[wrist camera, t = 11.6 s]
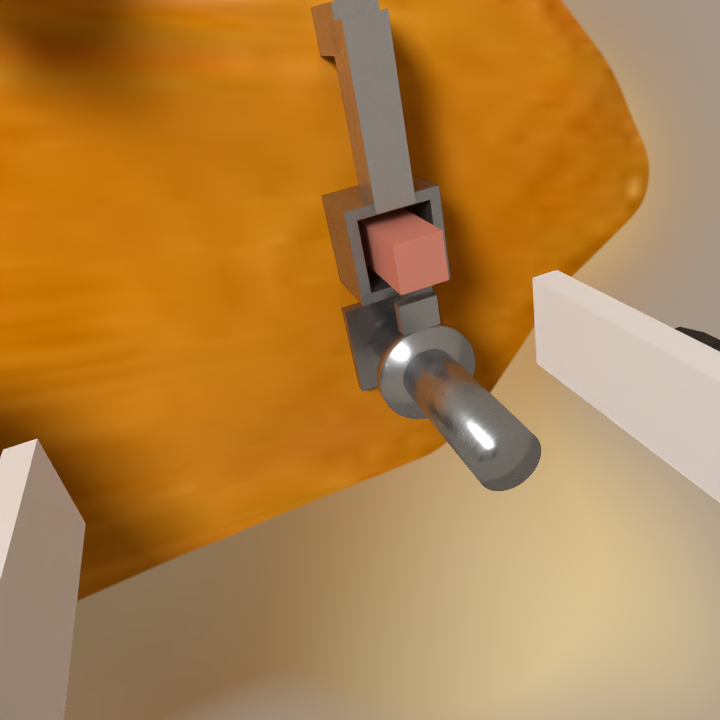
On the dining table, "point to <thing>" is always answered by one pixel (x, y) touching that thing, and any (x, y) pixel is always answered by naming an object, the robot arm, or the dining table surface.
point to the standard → (438, 384)
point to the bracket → (369, 139)
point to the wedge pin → (404, 250)
